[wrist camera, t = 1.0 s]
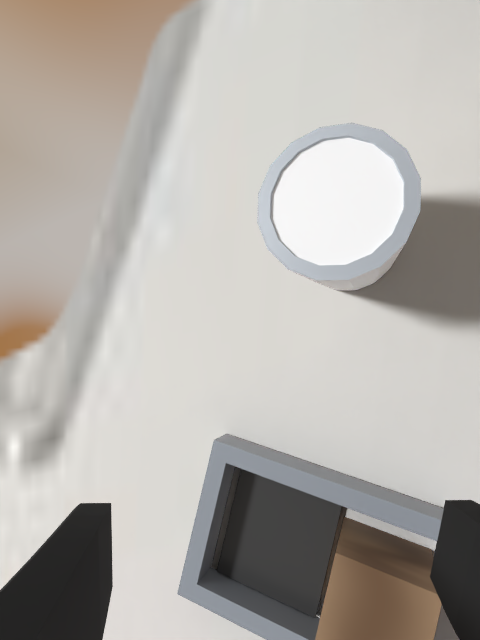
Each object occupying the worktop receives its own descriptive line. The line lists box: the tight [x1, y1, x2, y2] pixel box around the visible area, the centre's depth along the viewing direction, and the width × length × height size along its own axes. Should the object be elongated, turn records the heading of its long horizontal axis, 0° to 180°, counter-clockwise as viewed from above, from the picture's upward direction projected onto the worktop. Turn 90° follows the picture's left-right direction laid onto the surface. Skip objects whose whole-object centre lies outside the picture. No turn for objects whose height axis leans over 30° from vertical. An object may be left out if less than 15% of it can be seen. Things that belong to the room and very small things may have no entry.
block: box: [315, 517, 442, 640], centre depth 20 cm, size 4×4×4 cm
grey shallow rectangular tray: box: [177, 434, 444, 640], centre depth 22 cm, size 12×9×2 cm
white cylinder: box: [257, 123, 421, 290], centre depth 21 cm, size 7×7×7 cm
